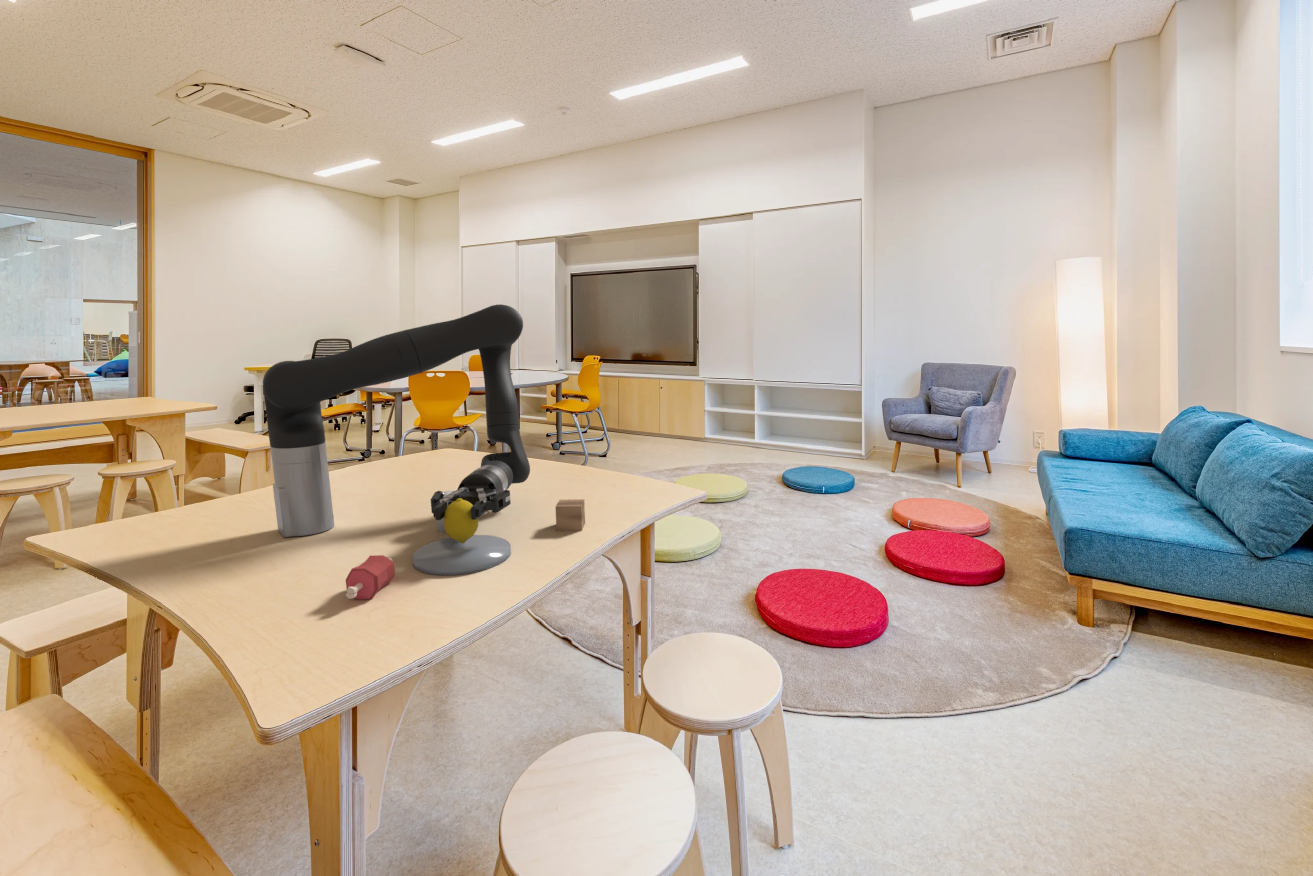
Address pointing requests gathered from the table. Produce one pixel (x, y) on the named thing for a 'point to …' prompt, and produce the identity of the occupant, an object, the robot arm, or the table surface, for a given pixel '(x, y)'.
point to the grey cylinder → (441, 522)
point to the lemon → (460, 521)
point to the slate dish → (461, 555)
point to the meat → (369, 577)
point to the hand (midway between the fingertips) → (455, 514)
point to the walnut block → (570, 515)
